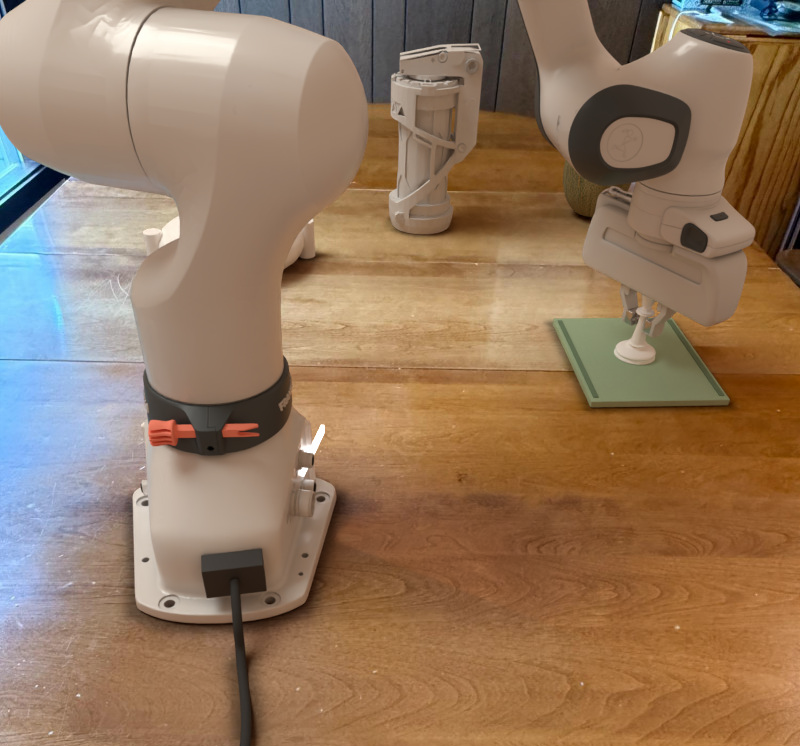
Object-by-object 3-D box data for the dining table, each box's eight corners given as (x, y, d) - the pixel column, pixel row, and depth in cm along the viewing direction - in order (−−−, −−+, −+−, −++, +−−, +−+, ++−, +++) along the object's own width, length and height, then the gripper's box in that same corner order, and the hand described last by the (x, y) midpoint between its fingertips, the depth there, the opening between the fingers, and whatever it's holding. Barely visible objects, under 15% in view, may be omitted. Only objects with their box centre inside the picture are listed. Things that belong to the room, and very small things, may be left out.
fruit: (636, 223, 129) (659, 125, 119) (578, 230, 126) (597, 130, 116) (599, 199, 137) (618, 105, 127) (544, 206, 134) (558, 110, 124)
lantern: (388, 234, 122) (391, 51, 106) (388, 210, 130) (391, 36, 113) (469, 236, 123) (486, 54, 106) (465, 212, 131) (479, 39, 114)
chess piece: (609, 358, 94) (627, 278, 87) (620, 341, 97) (638, 263, 90) (649, 369, 92) (671, 288, 85) (659, 351, 95) (681, 272, 89)
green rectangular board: (728, 405, 88) (730, 398, 87) (590, 407, 87) (591, 400, 86) (670, 322, 103) (672, 316, 102) (552, 323, 102) (553, 317, 101)
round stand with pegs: (153, 305, 102) (142, 252, 97) (146, 236, 119) (137, 188, 114) (331, 289, 107) (329, 237, 103) (301, 225, 124) (298, 178, 120)
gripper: (582, 185, 88) (561, 300, 97) (729, 248, 75) (689, 373, 85) (621, 176, 90) (597, 289, 100) (770, 236, 78) (727, 358, 87)
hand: (641, 328), depth 92 cm, fingers closed on chess piece, 2 cm apart
